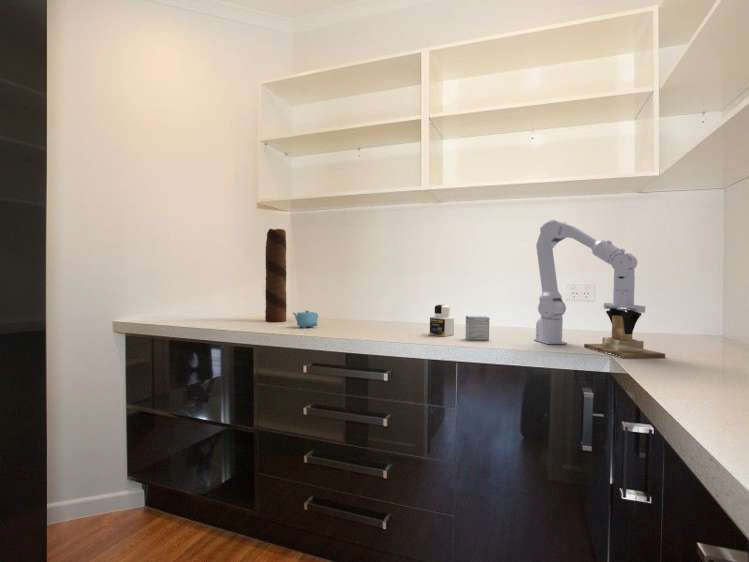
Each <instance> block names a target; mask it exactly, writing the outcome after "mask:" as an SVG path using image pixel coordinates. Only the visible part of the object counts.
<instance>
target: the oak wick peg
mask: <svg viewBox="0 0 749 562" xmlns="http://www.w3.org/2000/svg"><path fill="white" fill-rule="evenodd" d="M611 337H612V339H614V340H619V341H632V339H633V333H632V334H625V330H624V320H623V316H622V315H621V316H612V323H611Z"/></svg>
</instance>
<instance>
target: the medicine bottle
mask: <svg viewBox="0 0 749 562" xmlns="http://www.w3.org/2000/svg"><path fill="white" fill-rule="evenodd" d="M450 314H451V306H449V305H448V304H437V305H434V316H430V317H429V335H431V336H435V337H436V336H437V337H444V338H445V337H449V336H454V335H455V317H453V316H450Z"/></svg>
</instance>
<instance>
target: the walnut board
mask: <svg viewBox="0 0 749 562" xmlns="http://www.w3.org/2000/svg"><path fill="white" fill-rule="evenodd" d="M601 341H602V343H584V344H583V348H584V347H586V348H585V349H588V348H590V349H589V350H592V349H594V350H593V351H595V350H598V351H597V352H599V351H602V352H607V353H611V354H614V355H617V356H620V357H623V358H622V359H665V358H666V353H663V352H659V351H655V350H650V349H645V348H644V340H639V339H636V338H635V339H634V338H632V341H619V340H614V339H612V336H611V337H606V336H605V337H602V340H601ZM602 352H601V353H602ZM617 356H616V357H617ZM620 357H619V358H620Z"/></svg>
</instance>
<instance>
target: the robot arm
mask: <svg viewBox="0 0 749 562" xmlns="http://www.w3.org/2000/svg"><path fill="white" fill-rule="evenodd" d="M539 229H540V230H539V231H540V233H539V236H538V239H537V242H536V247H535V248H536V255H537V262H538V269H539V278H540V279H539V280H540V284H541V285H540V286H541V293H540V295H539V298H538V299H539V304H538V306H537V312H538V313H539V314H540V316H541V317H539V318H538V319H537V321H536V322H535V323H536V324H535V338H533V340H534V341H537V342H540V343H542V344H546V345H567V344H568V342H566V341H563V325H564V324H563V320H564V319H563V315H564V314H565V313H566V309H567V307H566V304H565V302H564V301H563V295H562V294H561V293H560V292H559V288H558V287H559V286H558V282H557V281H558V280H557V274H556V265H555V259H554V257H555V256H554V250H553V249H554V248H555V246H556V245H557V244H558V243H560V242H562V241H563V240H566V238H567V239H573V240H574V241H577V242H579V243H580V244H582V245H584V246H586V247H588V248H590V250H591V252H592V255H594V256H595V257H597V258H598V259H600V260H601V261H604V262H605V263H606V264H608V265H611V267H612V268H613V292H612V293H613V294H612V295H613V300H612V303H611V302H603V309H607V310H606V311H605V313H606V315H607V316H608V318H609V320H610V323H611V324H612V316H621V315H622V316H623V320H624V330H625V334H632V335H633V332H634V329H635V326H636V323H637V322H638V320H639V318H640V317H641V316H642V313H646V305H645V306H644V305H639V304H635V286H636V285H635V283H636V282H635V281H636V278H635V269H636V268H637V266H638V259H637V257H635V255H634V254H633V253H628V252H627V253H625V252H626V250H625V249H624V248H618V247H617V246H615V245H614V244H613V242H612V241H611V240H605V239H602V240H597V239H596V238H594V237H592V236H591V235H589V234H587V233H586V232H584V231H583V230H581V229H580V228H578V227H576V226H575V225H573V224H569V223H567V222H566V221H560V220H559V221H558V220H556V219H549V220H546V221H545V222H544V223H543V225H542V226H541V227H540V228H539Z"/></svg>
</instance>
